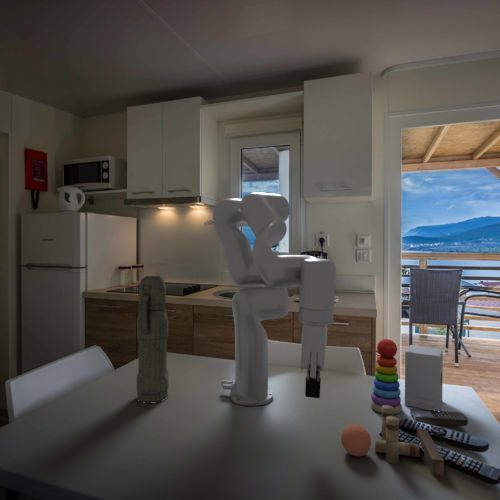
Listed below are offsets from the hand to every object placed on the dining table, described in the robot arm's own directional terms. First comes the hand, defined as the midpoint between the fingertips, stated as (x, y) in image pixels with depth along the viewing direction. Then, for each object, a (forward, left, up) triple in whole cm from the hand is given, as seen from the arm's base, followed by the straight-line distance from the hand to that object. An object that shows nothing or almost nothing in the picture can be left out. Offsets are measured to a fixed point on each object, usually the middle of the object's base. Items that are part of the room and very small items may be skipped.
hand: (312, 395), depth 81 cm
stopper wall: (+24, -1, -10) cm, 26 cm away
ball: (+9, -3, -7) cm, 12 cm away
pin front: (+13, -1, -9) cm, 16 cm away
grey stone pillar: (-46, +15, -11) cm, 50 cm away
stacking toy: (+19, +21, -11) cm, 30 cm away
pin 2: (+16, -4, -10) cm, 20 cm away
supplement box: (+30, +27, -11) cm, 42 cm away
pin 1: (+16, +2, -10) cm, 19 cm away
